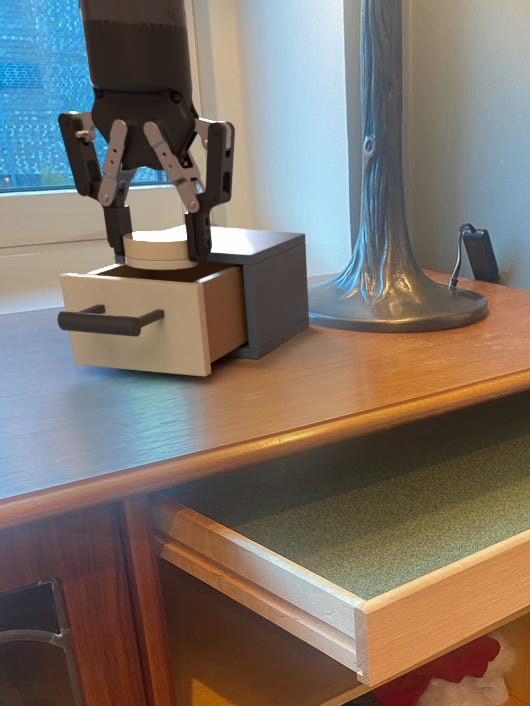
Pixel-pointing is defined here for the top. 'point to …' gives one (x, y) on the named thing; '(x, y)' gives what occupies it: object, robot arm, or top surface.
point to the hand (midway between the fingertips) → (161, 256)
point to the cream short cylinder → (157, 250)
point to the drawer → (155, 317)
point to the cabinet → (264, 283)
